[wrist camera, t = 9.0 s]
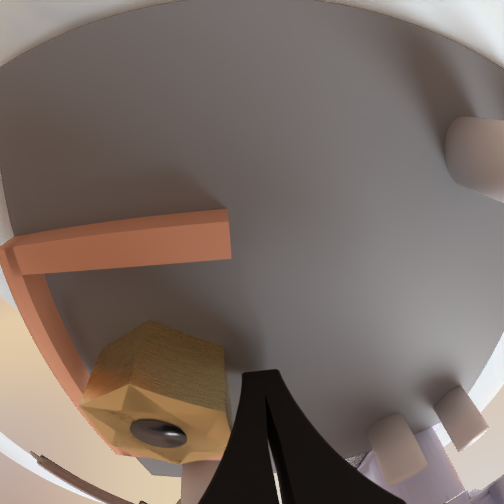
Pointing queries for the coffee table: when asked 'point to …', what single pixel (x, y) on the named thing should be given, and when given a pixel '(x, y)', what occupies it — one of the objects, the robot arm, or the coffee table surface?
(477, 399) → the coffee table surface
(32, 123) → the plate
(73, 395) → the parts bay
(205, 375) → the brass nut
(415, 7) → the coffee table surface
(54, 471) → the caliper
